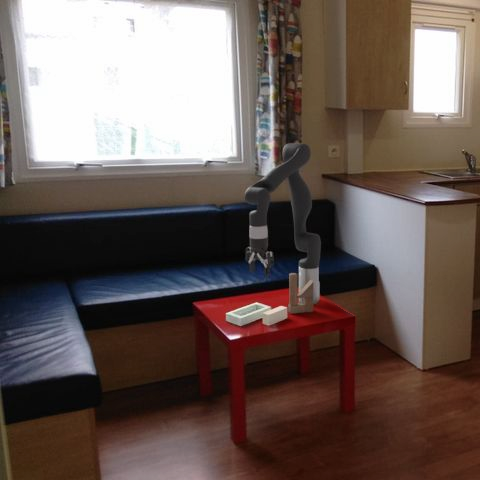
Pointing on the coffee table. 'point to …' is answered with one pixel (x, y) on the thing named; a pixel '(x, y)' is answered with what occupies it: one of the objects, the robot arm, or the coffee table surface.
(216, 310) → the coffee table surface
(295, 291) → the wooden bracket
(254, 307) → the white rectangular tray
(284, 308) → the cream rectangular block
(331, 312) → the coffee table surface
